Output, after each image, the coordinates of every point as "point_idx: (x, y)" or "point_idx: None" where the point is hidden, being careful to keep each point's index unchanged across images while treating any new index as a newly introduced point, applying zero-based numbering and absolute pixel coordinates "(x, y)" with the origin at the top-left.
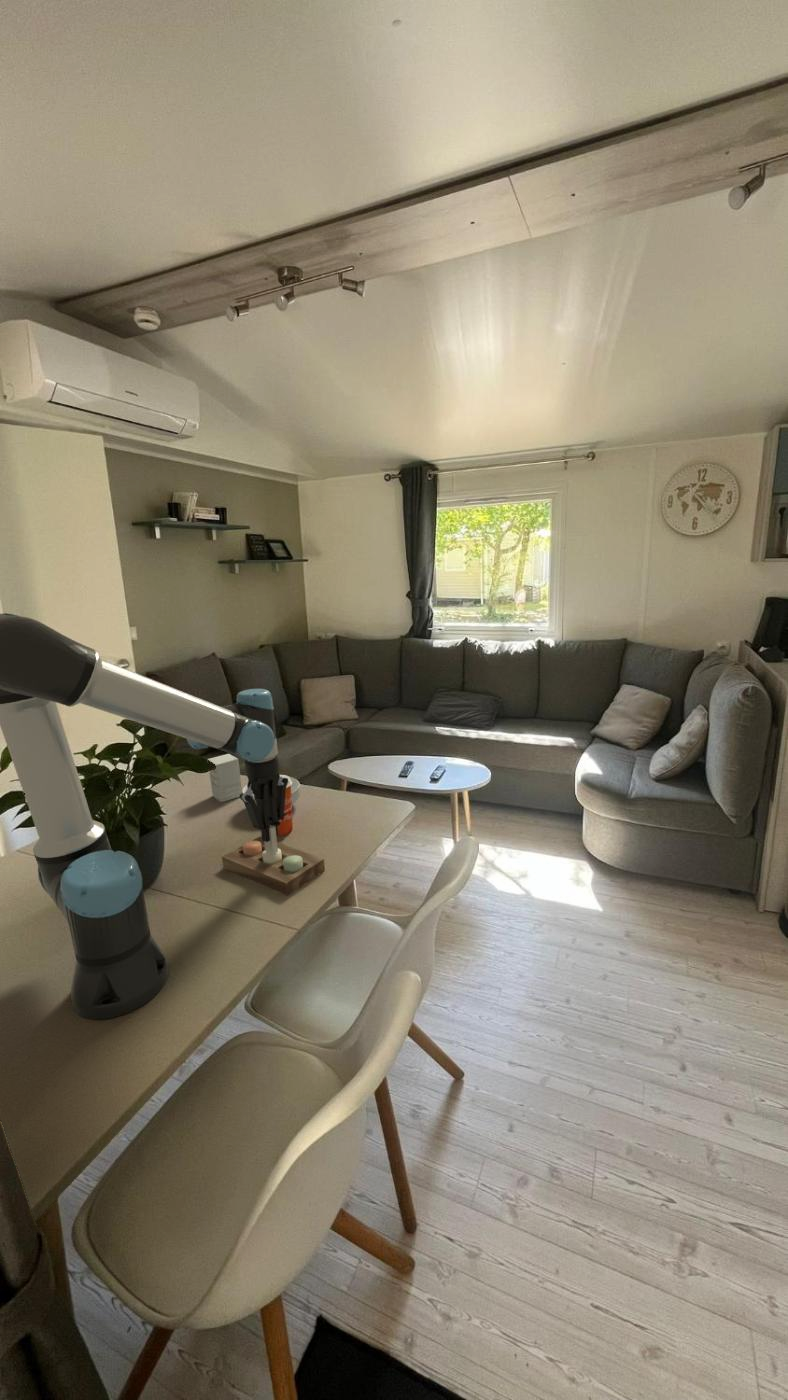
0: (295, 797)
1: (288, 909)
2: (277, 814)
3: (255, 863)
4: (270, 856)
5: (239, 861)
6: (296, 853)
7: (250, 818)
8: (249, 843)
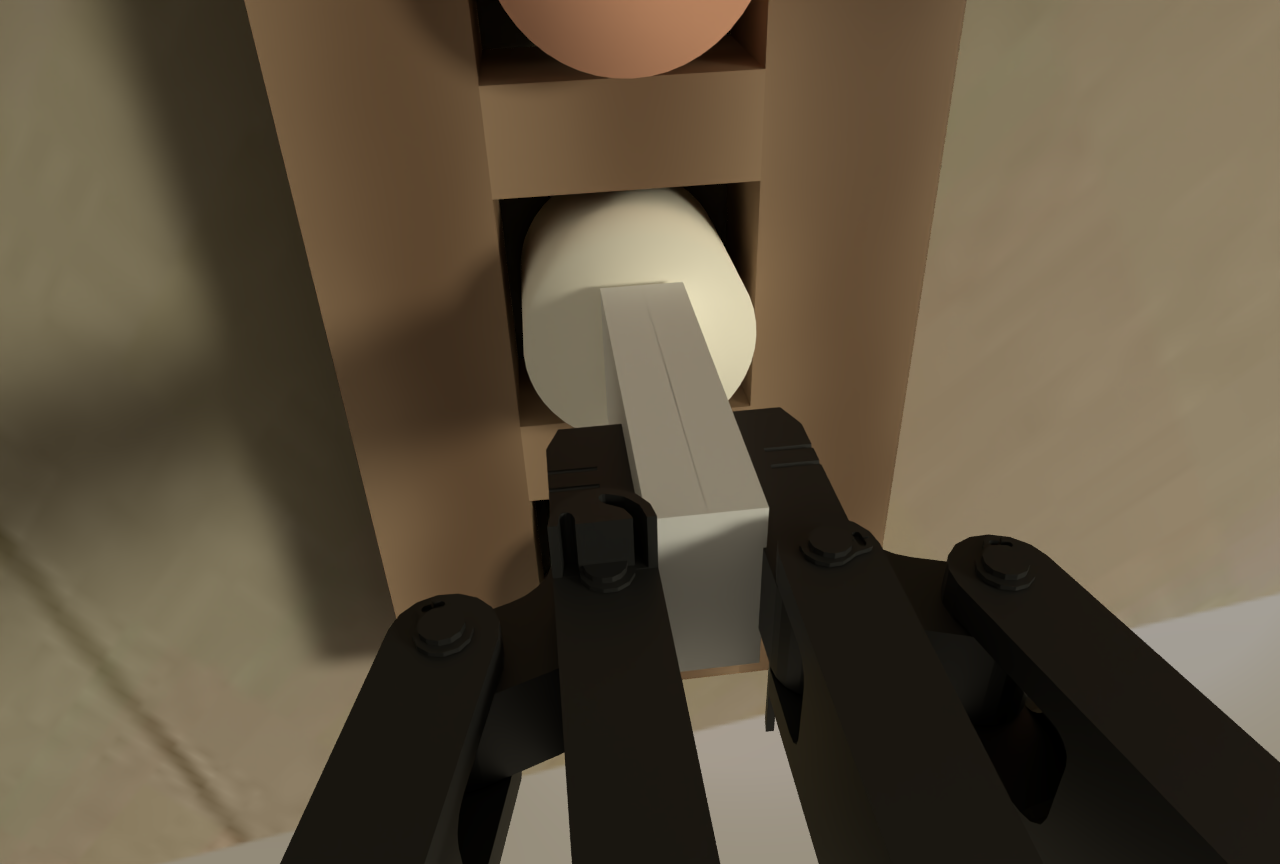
0: None
1: (331, 726)
2: (978, 692)
3: (425, 257)
4: (567, 406)
5: (299, 33)
6: (832, 439)
7: (300, 855)
8: None
